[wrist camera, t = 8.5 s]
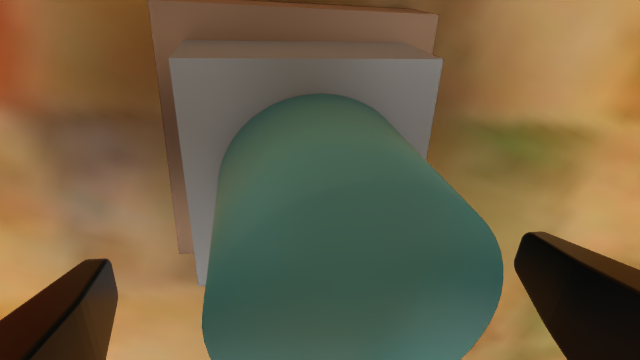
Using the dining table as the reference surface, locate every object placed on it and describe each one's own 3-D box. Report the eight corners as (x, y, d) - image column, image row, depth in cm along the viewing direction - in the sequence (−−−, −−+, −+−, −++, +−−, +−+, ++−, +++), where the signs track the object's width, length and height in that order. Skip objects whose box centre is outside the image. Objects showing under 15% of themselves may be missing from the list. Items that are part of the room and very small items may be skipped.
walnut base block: (377, 205, 20) (398, 240, 17) (188, 213, 18) (179, 254, 15) (405, 7, 16) (439, 15, 13) (164, -6, 14) (147, 0, 11)
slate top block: (380, 219, 16) (407, 266, 14) (205, 232, 15) (198, 286, 13) (402, 42, 13) (443, 59, 11) (183, 39, 12) (168, 58, 9)
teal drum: (390, 260, 13) (460, 399, 9) (219, 267, 12) (207, 426, 8) (425, 98, 11) (546, 181, 7) (215, 88, 10) (193, 180, 6)
